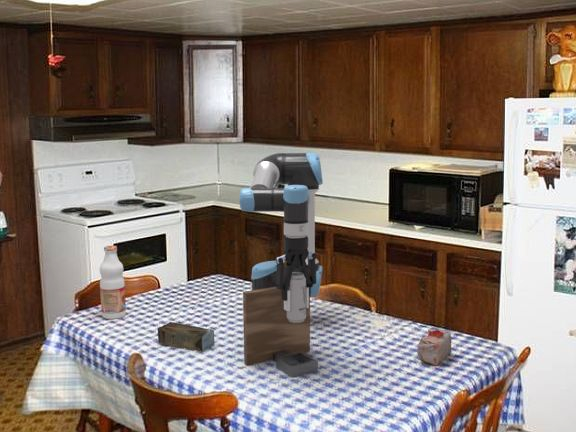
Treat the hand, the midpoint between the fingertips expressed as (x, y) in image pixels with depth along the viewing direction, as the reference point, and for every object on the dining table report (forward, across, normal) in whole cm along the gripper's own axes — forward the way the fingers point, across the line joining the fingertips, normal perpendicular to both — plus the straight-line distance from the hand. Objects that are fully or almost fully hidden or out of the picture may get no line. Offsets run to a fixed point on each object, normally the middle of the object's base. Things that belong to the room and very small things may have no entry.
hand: (296, 308), depth 218 cm
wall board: (+20, 0, +12) cm, 23 cm away
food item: (+20, +44, -16) cm, 51 cm away
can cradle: (+20, 0, +3) cm, 20 cm away
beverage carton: (+20, -21, +40) cm, 49 cm away
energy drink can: (+4, 0, 0) cm, 4 cm away
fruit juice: (+20, -33, +85) cm, 93 cm away
